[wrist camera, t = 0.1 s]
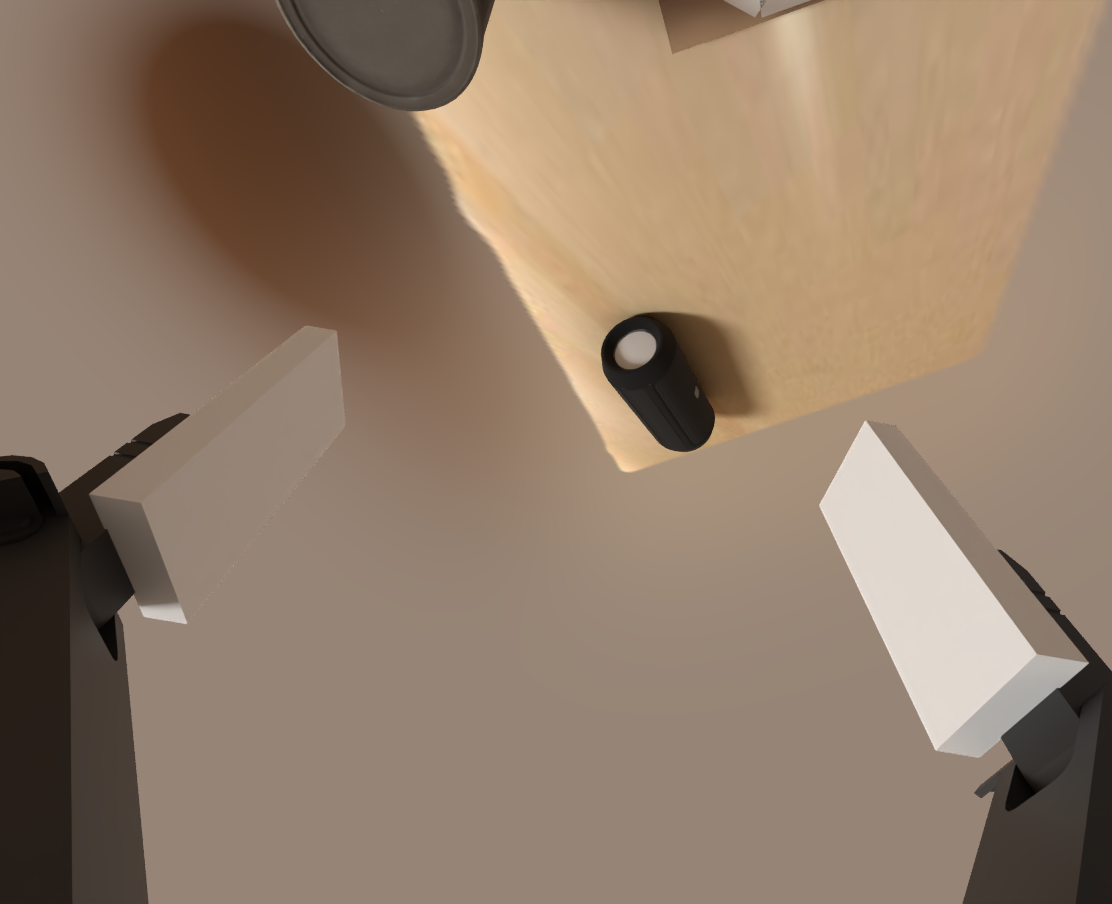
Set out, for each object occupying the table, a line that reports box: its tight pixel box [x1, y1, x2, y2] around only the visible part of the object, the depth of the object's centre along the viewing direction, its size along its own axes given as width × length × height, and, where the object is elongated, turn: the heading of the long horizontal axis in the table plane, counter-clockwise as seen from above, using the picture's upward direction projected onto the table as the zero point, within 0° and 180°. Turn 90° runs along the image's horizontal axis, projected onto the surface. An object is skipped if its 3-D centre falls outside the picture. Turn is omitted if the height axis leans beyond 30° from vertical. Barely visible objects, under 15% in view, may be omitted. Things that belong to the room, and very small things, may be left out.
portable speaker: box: [601, 317, 715, 452], centre depth 77 cm, size 26×10×10 cm, turn 28°
